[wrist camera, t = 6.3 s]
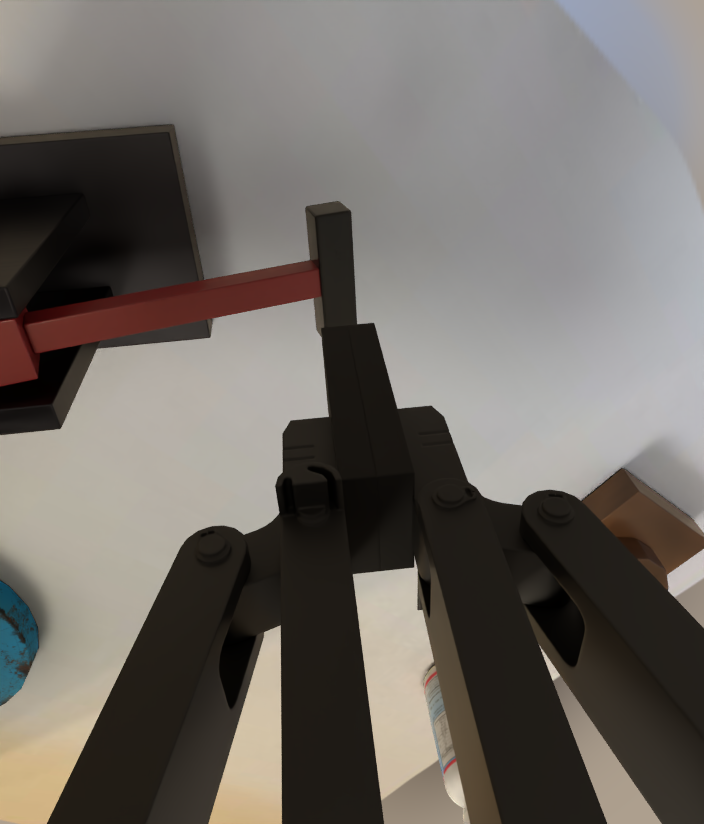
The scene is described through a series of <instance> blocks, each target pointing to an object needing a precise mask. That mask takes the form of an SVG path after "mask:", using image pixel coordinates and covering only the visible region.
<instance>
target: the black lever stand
mask: <svg viewBox="0 0 704 824" xmlns="http://www.w3.org/2000/svg"><path fill="white" fill-rule="evenodd" d="M201 280H204V277H203V272H202V267H201V262H200V257H199V252H198V247H197V241H196V236H195V231H194V226H193V221H192V216H191V211H190V206H189V201H188V196H187V190H186V185H185V180H184V175H183V170H182V165H181V160H180V155H179V150H178V145H177V139H176V134H175V129H174V125H160V126H147V127H134V128H121V129H108V130H95V131H82V132H68V133H55V134H42V135H29V136H16V137H3V138H0V320H1V319H12V318H18V317H19V316H20V314H21V313H22V311H23V310H24V309H25V307H26V308H27V311H28V312H32V311H38V310H43V309H49V308H54V307H60V306H65V305H70V304H76V303H81V302H87V301H92V300H98V299H103V298H108V297H114V296H119V295H125V294H130V293H136V292H141V291H146V290H152V289H157V288H163V287H168V286H173V285H179V284H184V283H190V282H195V281H201ZM211 329H212V319H207V320H202V321H197V322H192V323H187V324H182V325H177V326H172V327H167V328H162V329H157V330H152V331H147V332H142V333H137V334H132V335H127V336H122V337H117V338H112V339H107V340H102V341H97V342H92V343H87V344H82V345H77V346H72V347H67V348H62V349H57V350H52V351H47V352H42V353H40V360H39V372H38V379H34V380H30V381H25V382H20V383H15V384H11V385H6V386H1V387H0V435H6V434H15V433H25V432H35V431H45V430H54V429H60V428H61V427H62V425H63V423H64V421H65V418H66V416H67V414H68V412H69V410H70V407H71V405H72V403H73V401H74V398H75V396H76V394H77V392H78V390H79V387H80V385H81V383H82V381H83V378H84V376H85V374H86V372H87V370H88V367H89V365H90V363H91V361H92V359H93V356H94V354H95V352H96V350H97V349H98V348H108V347H119V346H129V345H140V344H150V343H161V342H171V341H181V340H192V339H202V338H210V336H211Z"/></svg>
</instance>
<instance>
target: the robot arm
mask: <svg viewBox="0 0 704 824" xmlns="http://www.w3.org/2000/svg"><path fill="white" fill-rule="evenodd" d="M321 334H322V346H323V357H324V368H325V379H326V390H327V402H328V412H329V417H324V418H313V419H303V420H292V421H290V423H289V424H288V426H287V428H286V429H285V431H284V432H283V473H282V474H281V475H280V476H279V477H278V479H277V482H276V486H275V487H276V493H277V500H278V506H279V512H280V513H279V515H278V516H277V517H276V518H275V519H274V520H273V521H272V522H271V523H269V524H268V525H266V526H265V527H263V528H260V529H258V530H256V531H253V532H251V533H248V534H245V535H243V534H242V533H241V532H239V531H238V530H236V529H235V528H232V527H227V526H212V527H208V528H205V529H202V530H199V531H197V532H196V533H195V534H193V535H192V536H190V537H189V538H188V539H187V540H186V541H185V542H184V544H183V545H182V546H181V548H180V550H179V552H178V554H177V556H176V558H175V560H174V562H173V565H172V567H171V569H170V571H169V573H168V575H167V577H166V579H165V581H164V583H163V585H162V587H161V589H160V591H159V593H158V595H157V598H156V600H155V602H154V604H153V606H152V608H151V610H150V612H149V614H148V616H147V618H146V620H145V622H144V624H143V626H142V628H141V631H140V633H139V635H138V637H137V639H136V641H135V643H134V645H133V647H132V649H131V651H130V653H129V655H128V657H127V659H126V662H125V664H124V666H123V668H122V670H121V672H120V674H119V676H118V678H117V680H116V682H115V684H114V686H113V688H112V690H111V692H110V695H109V697H108V699H107V701H106V703H105V705H104V707H103V709H102V711H101V713H100V715H99V717H98V719H97V721H96V723H95V725H94V728H93V730H92V732H91V734H90V736H89V738H88V740H87V742H86V744H85V746H84V748H83V750H82V752H81V754H80V756H79V759H78V761H77V763H76V765H75V767H74V769H73V771H72V773H71V775H70V777H69V779H68V781H67V783H66V785H65V787H64V789H63V792H62V794H61V796H60V798H59V800H58V802H57V804H56V806H55V808H54V810H53V812H52V814H51V816H50V818H49V820H48V822H47V824H208V822H209V819H210V816H211V812H212V809H213V806H214V802H215V799H216V796H217V792H218V789H219V785H220V782H221V779H222V775H223V772H224V769H225V765H226V762H227V759H228V755H229V752H230V749H231V745H232V742H233V738H234V735H235V732H236V728H237V725H238V722H239V718H240V715H241V712H242V708H243V705H244V702H245V698H246V695H247V691H248V688H249V685H250V681H251V678H252V675H253V671H254V668H255V665H256V661H257V658H258V655H259V651H260V648H261V644H262V641H263V638H264V632H265V631H268V630H270V629H272V628H275V627H277V626H280V625H281V724H282V824H384V820H383V812H382V804H381V796H380V788H379V780H378V772H377V764H376V756H375V748H374V740H373V732H372V724H371V717H370V709H369V701H368V693H367V685H366V677H365V669H364V661H363V653H362V645H361V637H360V629H359V621H358V613H357V605H356V597H355V589H354V581H353V574H357V573H367V572H376V571H385V570H394V569H403V568H413V567H414V556H415V560H416V564H417V568H418V610H423V613H424V617H425V622H426V626H427V631H428V635H429V640H430V644H431V649H432V653H433V658H434V662H435V667H436V671H437V676H438V680H439V685H440V689H441V694H442V699H443V703H444V708H445V712H446V717H447V721H448V726H449V730H450V735H451V739H452V744H453V748H454V753H455V757H456V762H457V766H458V771H459V775H460V780H461V784H462V789H463V793H464V798H465V802H466V807H467V811H468V816H469V820H470V824H607V822H606V819H605V817H604V814H603V811H602V809H601V807H600V803H599V801H598V798H597V796H596V793H595V790H594V788H593V785H592V783H591V780H590V777H589V775H588V772H587V769H586V767H585V764H584V762H583V759H582V757H581V754H580V751H579V749H578V746H577V744H576V741H575V738H574V736H573V733H572V730H571V728H570V725H569V722H568V720H567V717H566V715H565V712H564V710H563V707H562V705H561V702H560V699H559V696H558V694H557V691H556V689H555V686H554V683H553V681H552V678H551V675H550V673H549V670H548V668H547V665H546V662H545V660H544V657H543V655H542V652H541V649H540V647H539V645H540V646H541V648H542V649H543V651H544V652H545V654H546V655H547V656H548V658H549V659H550V661H551V662H552V664H553V665H554V667H555V668H556V670H557V671H558V673H559V674H560V675H561V677H562V678H563V680H564V681H565V683H566V684H567V686H568V687H569V689H570V690H571V692H572V693H573V694H574V696H575V697H576V699H577V700H578V702H579V703H580V704H581V706H582V708H583V709H584V711H585V712H586V713H587V715H588V716H589V718H590V719H591V721H592V722H593V724H594V725H595V726H596V728H597V729H598V731H599V732H600V734H601V735H602V736H603V738H604V740H605V741H606V742H607V744H608V746H609V747H610V749H611V750H612V751H613V753H614V754H615V756H616V757H617V759H618V760H619V762H620V763H621V765H622V766H623V767H624V769H625V770H626V772H627V773H628V775H629V776H630V778H631V779H632V781H633V782H634V784H635V785H636V787H637V788H638V789H639V791H640V792H641V794H642V795H643V797H644V798H645V800H646V801H647V803H648V804H649V805H650V807H651V808H652V810H653V811H654V813H655V814H656V816H657V817H658V819H659V820H660V822H661V823H662V824H704V628H703V627H702V626H701V625H700V624H699V623H698V622H697V621H696V620H695V619H694V618H693V617H692V616H691V615H690V613H689V612H688V611H687V610H686V609H685V608H684V607H683V606H682V605H681V604H680V603H679V602H678V601H677V600H676V599H675V598H674V597H673V596H672V595H671V594H670V593H669V592H668V590H667V589H666V588H665V587H664V586H663V585H662V584H661V583H660V582H659V581H658V580H657V579H656V578H655V577H654V576H653V575H652V574H651V573H650V572H649V571H648V570H647V569H646V567H645V566H644V565H643V564H642V563H641V562H640V561H639V560H638V559H637V558H636V557H635V556H634V555H633V554H632V553H631V552H630V551H629V550H628V549H627V548H626V547H625V546H624V544H623V543H622V542H621V541H620V540H619V539H618V538H617V537H616V536H615V535H614V534H613V533H612V532H611V531H610V530H609V529H608V528H607V527H606V526H605V525H604V524H603V523H602V522H601V520H600V519H599V518H598V517H597V516H596V515H595V514H594V513H593V512H592V511H591V510H590V509H589V508H588V507H587V506H586V505H585V504H584V503H583V502H582V501H580V500H579V499H578V498H576V497H575V496H573V495H570V494H568V493H565V492H562V491H555V490H544V491H537V492H535V493H533V494H531V495H529V496H528V497H527V498H526V499H525V501H524V502H523V503H522V506H521V505H513V504H506V503H500V502H495V501H492V500H490V499H487V498H484V497H483V496H482V495H481V494H480V492H479V491H478V489H477V488H476V487H475V486H473V485H471V484H470V483H469V482H468V480H467V478H466V475H465V472H464V470H463V467H462V464H461V462H460V459H459V456H458V453H457V451H456V448H455V445H454V443H453V440H452V437H451V435H450V433H449V429H448V427H447V424H446V421H445V418H444V416H442V415H441V414H440V413H439V412H438V411H437V410H436V409H434V408H433V407H432V406H423V407H413V408H402V409H397V406H396V402H395V398H394V395H393V391H392V387H391V384H390V380H389V376H388V373H387V369H386V365H385V362H384V358H383V354H382V350H381V347H380V343H379V339H378V336H377V332H376V328H375V325H374V323H368V324H357V325H346V326H335V327H324V328H321ZM538 643H539V644H538Z"/></svg>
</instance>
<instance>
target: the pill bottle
mask: <svg viewBox="0 0 704 824" xmlns="http://www.w3.org/2000/svg"><path fill="white" fill-rule="evenodd" d="M424 692H425V697H426V702H427V707H428V711H429V716H430V720H431V725H432V729H433V734H434V738H435V743H436V748H437V752H438V757H439V761H440V765H441V770H442V775H443V779H444V783H445V787H446V790H447V793H448V795H449V796H450V798H451V799H452V800H453V801H454V802H455V803H456V804H457V805H459V806H461V807H463V808H464V810H463V822H464V824H470V820H469V816H468V811H467V807H466V802H465V798H464V793H463V789H462V784H461V780H460V775H459V771H458V766H457V762H456V757H455V753H454V748H453V744H452V739H451V735H450V730H449V726H448V721H447V717H446V712H445V708H444V703H443V699H442V694H441V689H440V685H439V680H438V676H437V671H436V667H435V665H434V666H433V667H432V668H431V669H430V670H429V671H428V673H427V675H426V676H425V679H424Z"/></svg>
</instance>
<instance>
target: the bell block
mask: <svg viewBox="0 0 704 824" xmlns="http://www.w3.org/2000/svg"><path fill="white" fill-rule="evenodd" d="M582 502H583V503H584V504H585V505H586V506H587V507H588V508H589V509H590V510H591V511H592V512H593V513H594V514H595V515H596V516H597V517H598V518H599V519H600V520H601V522H602V523H603V524H604V525H605V526H606V527H607V528H608V529H609V530H610V531H611V532H612V533H613V534H614V535H615V536H616V537H617V538H618V539H619V540H620V541H621V542H622V543H623V544H624V546H625V547H626V548H627V549H628V550H629V551H630V552H631V553H632V554H633V555H634V556H635V557H636V558H637V559H638V560H639V561H640V562H641V563H642V564H643V565H644V566H645V567H646V569H647V570H648V571H649V572H650V573H651V574H652V575H653V576H654V577H655V578H656V579H657V580H658V581H659V582H660V583H661V584H662V585H663V586H664V587H665V588H666V589H667V590H668V581H667V574H669V573H670V572H672V571H673V570H674V569H676V568H677V567H679V566H680V565H681V564H683V563H684V562H686V561H687V560H688V559H690V558H691V557H693V556H694V555H695V554H697V553H698V552H700V551H701V550H702V549H704V533H703V532H702V530H701V529H700V528H699V526H698V525H697V524H696V522H695V521H694V520H693V519H692V518H690V517H689V516H688V515H686V514H685V513H683V512H682V511H681V510H679V509H678V508H677V507H675V506H674V505H673V504H671V503H670V502H668V501H667V500H666V499H664V498H663V497H662V496H660V495H659V494H658V493H656V492H655V491H653V490H652V489H651V488H649V487H648V486H647V485H645V484H644V483H642V482H641V481H640V480H638V479H637V478H636V477H634V476H633V475H632V474H630V473H629V472H627V471H626V470H625V469H623V468H622V469H621V470H620V471H618V472H617V473H616V474H615V475H613V476H612V477H611V478H610V479H609V480H607V481H606V482H605V483H604V484H602V485H601V486H600V487H599V488H598V489H596V490H595V491H594V492H593V493H591V494H590V495H589V496H588V497H587V498H585V499H584V500H583V501H582Z"/></svg>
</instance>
